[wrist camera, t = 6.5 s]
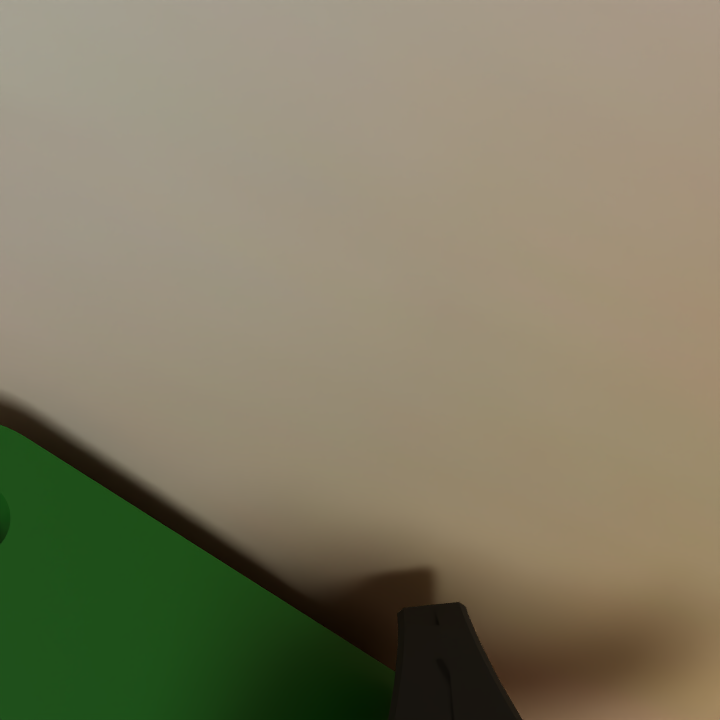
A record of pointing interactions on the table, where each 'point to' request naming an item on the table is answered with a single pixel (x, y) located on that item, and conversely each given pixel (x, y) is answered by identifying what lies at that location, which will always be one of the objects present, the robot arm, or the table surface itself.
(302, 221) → the table surface
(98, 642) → the clamp
